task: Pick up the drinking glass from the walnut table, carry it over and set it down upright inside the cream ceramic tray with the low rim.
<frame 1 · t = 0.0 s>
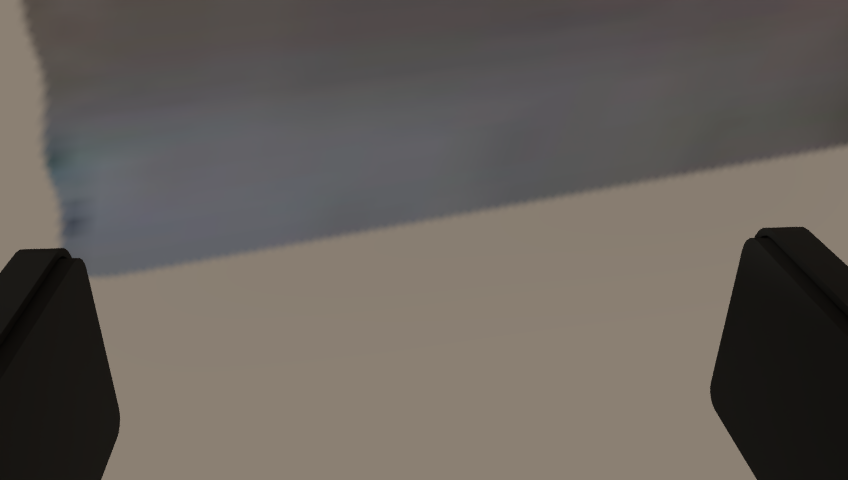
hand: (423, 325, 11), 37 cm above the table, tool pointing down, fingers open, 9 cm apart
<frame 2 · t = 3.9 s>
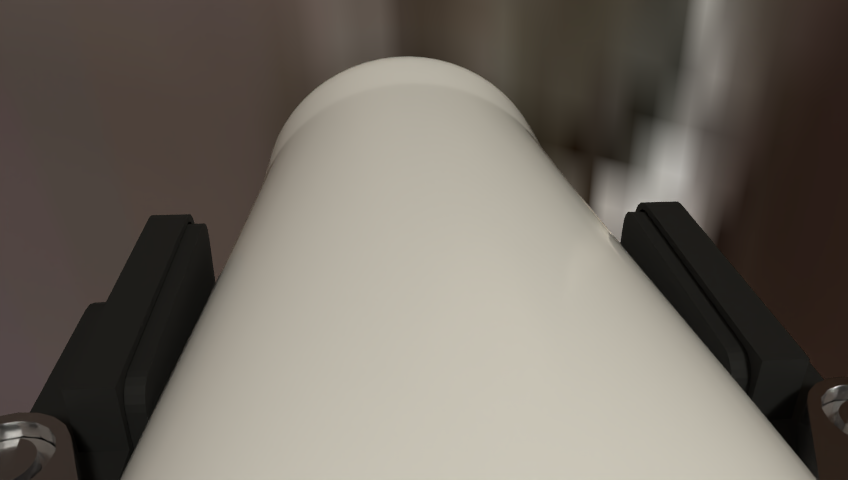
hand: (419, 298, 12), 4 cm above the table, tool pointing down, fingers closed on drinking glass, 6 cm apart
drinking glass: (404, 174, 16), on the table, touching gripper
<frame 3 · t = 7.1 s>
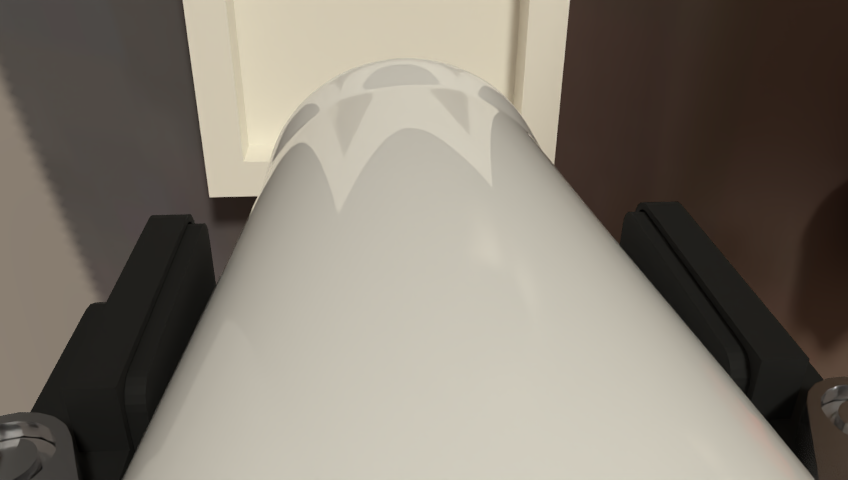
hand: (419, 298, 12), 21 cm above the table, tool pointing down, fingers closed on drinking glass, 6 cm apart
tray: (378, 5, 31), on the table
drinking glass: (403, 175, 16), point 17 cm above the table, touching gripper
when the fingers open (6 cm above the table, at t = 10.4 s): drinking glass drops 1 cm, resting on tray.
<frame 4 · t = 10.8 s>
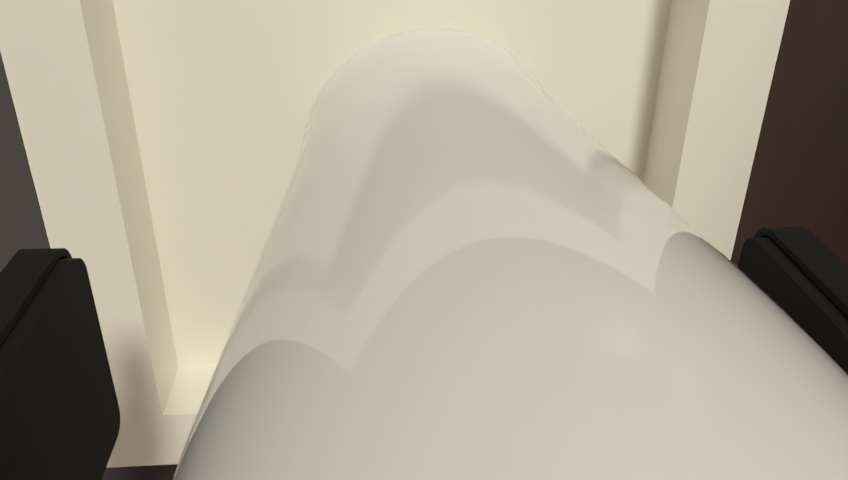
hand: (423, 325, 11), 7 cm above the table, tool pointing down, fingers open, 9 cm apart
tray: (399, 142, 17), on the table
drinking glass: (428, 141, 17), resting on tray
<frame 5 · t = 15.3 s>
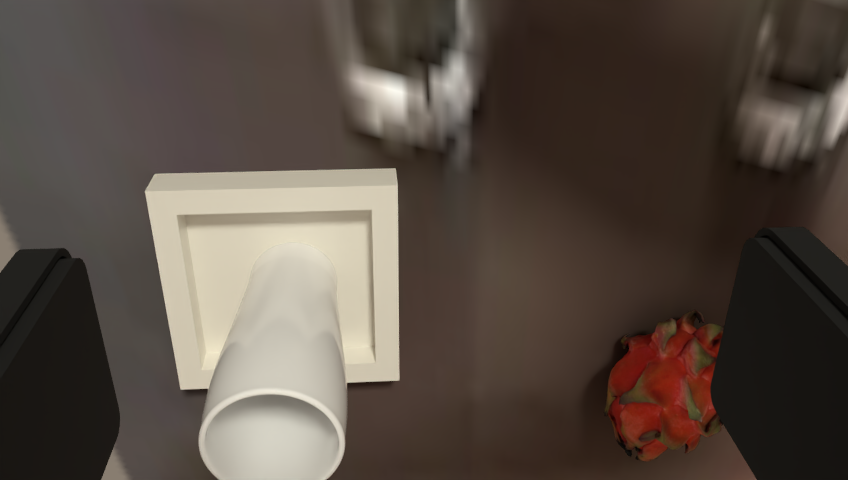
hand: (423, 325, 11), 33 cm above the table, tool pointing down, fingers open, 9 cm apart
tray: (285, 273, 49), on the table
dragon fruit: (651, 356, 55), on the table
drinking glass: (295, 273, 49), resting on tray
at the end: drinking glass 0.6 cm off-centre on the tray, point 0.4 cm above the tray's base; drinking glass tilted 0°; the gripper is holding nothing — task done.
